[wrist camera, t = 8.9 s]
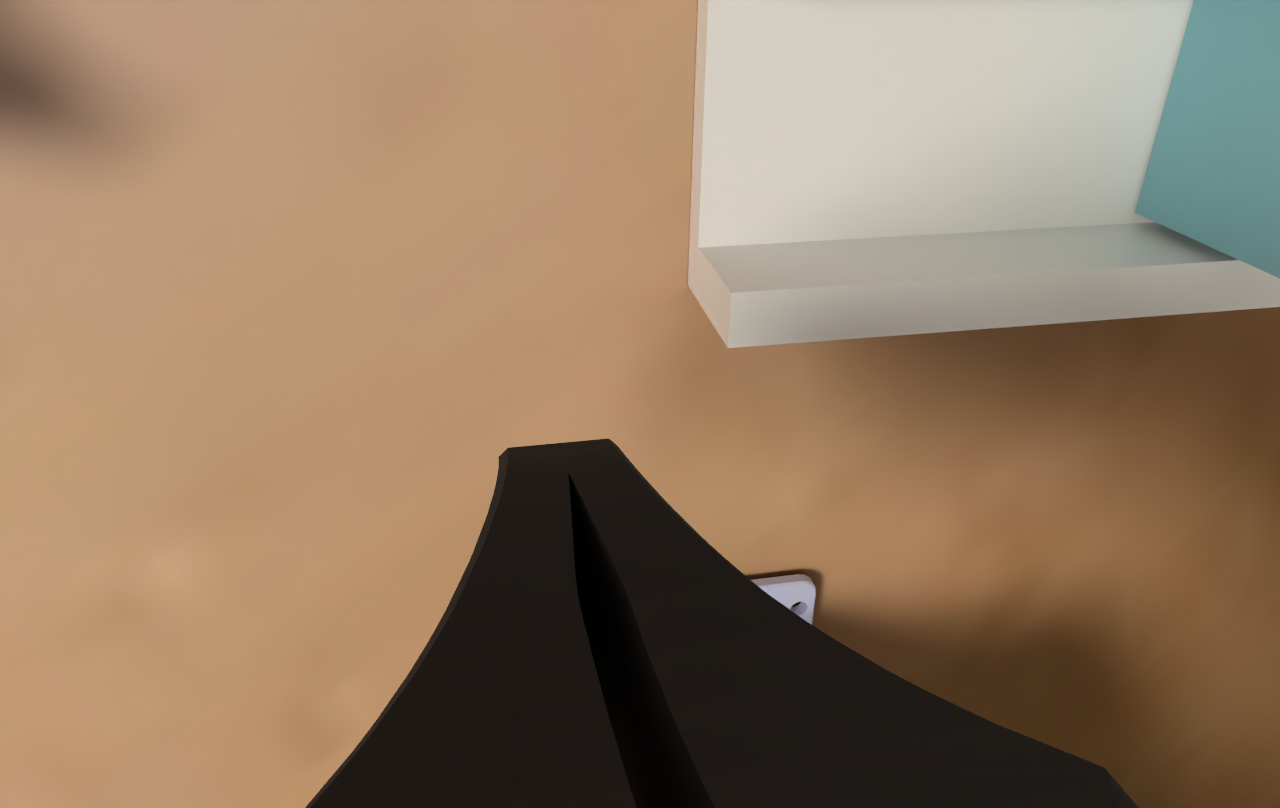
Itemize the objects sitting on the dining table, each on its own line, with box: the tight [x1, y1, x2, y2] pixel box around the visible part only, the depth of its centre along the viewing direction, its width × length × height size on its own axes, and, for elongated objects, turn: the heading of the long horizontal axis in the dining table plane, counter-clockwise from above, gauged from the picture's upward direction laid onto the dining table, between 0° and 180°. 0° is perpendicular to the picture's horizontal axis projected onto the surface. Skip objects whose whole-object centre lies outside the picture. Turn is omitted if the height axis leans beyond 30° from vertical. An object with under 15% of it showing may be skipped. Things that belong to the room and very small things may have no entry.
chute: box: [688, 0, 1280, 348], centre depth 20 cm, size 20×8×4 cm, turn 90°
